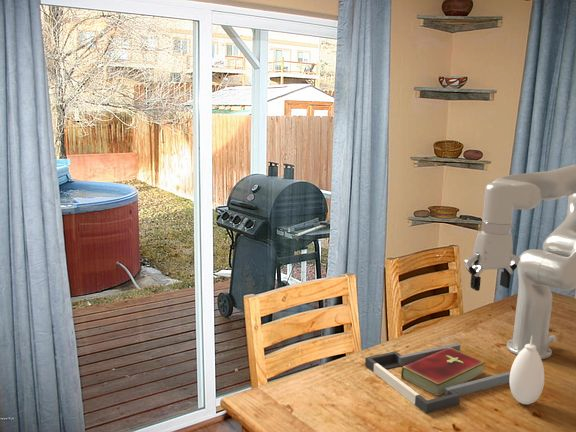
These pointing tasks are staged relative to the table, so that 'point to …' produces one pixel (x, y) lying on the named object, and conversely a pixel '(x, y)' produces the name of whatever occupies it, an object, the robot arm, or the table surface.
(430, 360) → the hardcover book
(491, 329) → the table surface
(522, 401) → the rubber air blower
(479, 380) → the grey u-shaped frame
